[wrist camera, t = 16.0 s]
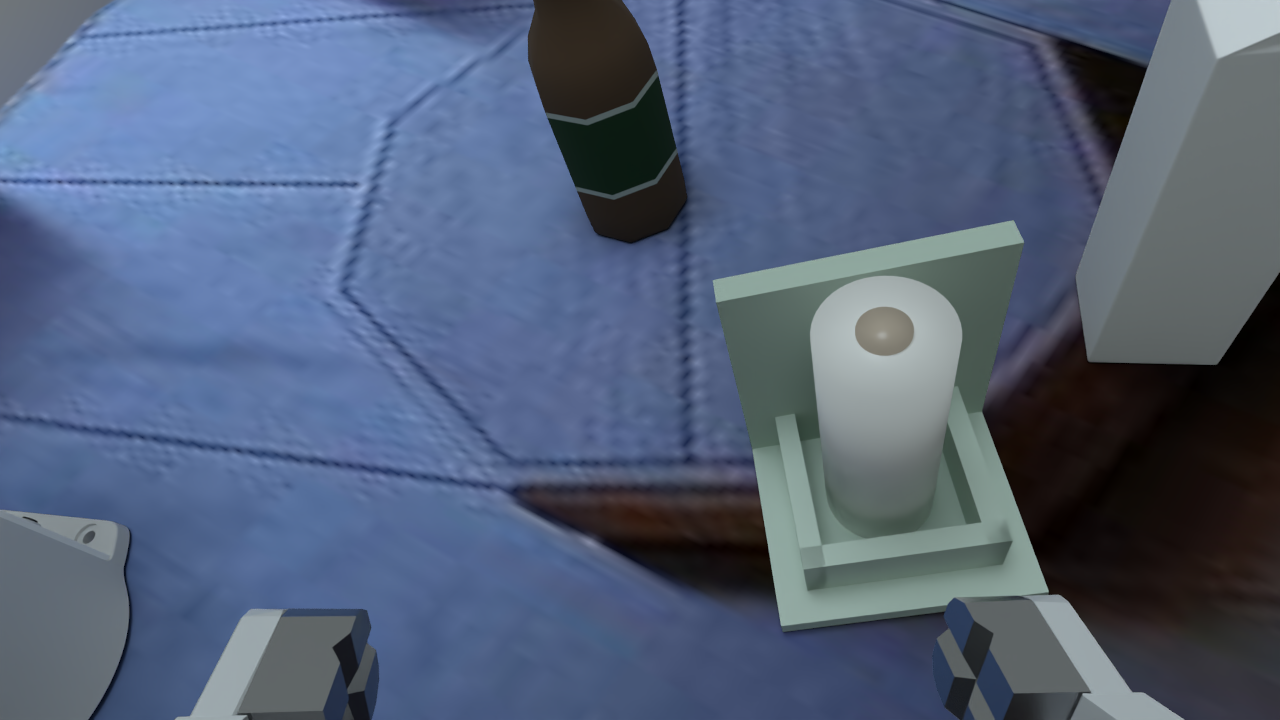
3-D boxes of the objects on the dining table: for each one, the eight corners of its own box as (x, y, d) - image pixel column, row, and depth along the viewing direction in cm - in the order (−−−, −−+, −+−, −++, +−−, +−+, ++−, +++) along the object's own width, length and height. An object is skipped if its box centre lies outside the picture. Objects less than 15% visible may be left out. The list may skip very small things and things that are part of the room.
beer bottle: (711, 199, 55) (630, -177, 35) (627, 263, 53) (495, -94, 34) (645, 153, 59) (541, -203, 40) (565, 211, 57) (417, -130, 38)
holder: (782, 631, 37) (749, 519, 26) (747, 418, 44) (709, 257, 33) (1044, 598, 35) (1129, 462, 24) (965, 381, 42) (1002, 197, 31)
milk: (1194, 276, 43) (1434, -160, 25) (1217, 368, 40) (1511, -58, 22) (1071, 277, 44) (1215, -131, 27) (1084, 364, 41) (1257, -33, 24)
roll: (824, 537, 38) (807, 391, 27) (827, 443, 41) (812, 274, 30) (936, 544, 37) (968, 392, 25) (931, 446, 40) (957, 269, 28)
